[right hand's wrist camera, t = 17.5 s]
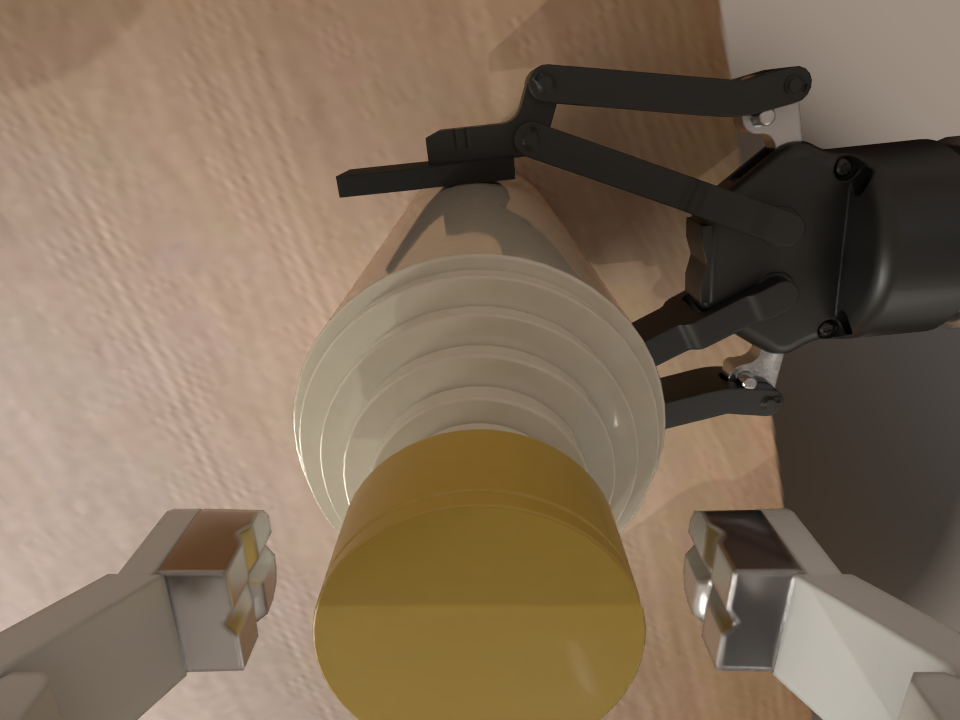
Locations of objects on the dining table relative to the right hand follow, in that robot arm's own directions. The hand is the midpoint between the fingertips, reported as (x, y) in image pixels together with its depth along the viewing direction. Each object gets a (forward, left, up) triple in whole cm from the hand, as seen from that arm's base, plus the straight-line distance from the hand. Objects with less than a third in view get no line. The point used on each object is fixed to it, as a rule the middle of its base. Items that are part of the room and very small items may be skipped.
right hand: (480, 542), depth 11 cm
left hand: (-3, -4, -17) cm, 17 cm away
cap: (0, 0, +2) cm, 2 cm away
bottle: (0, 0, -23) cm, 23 cm away
